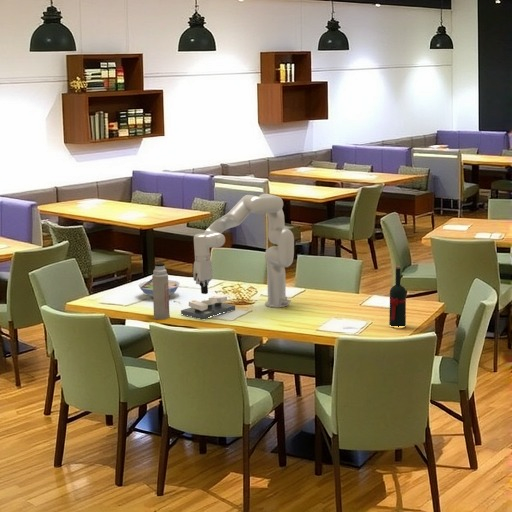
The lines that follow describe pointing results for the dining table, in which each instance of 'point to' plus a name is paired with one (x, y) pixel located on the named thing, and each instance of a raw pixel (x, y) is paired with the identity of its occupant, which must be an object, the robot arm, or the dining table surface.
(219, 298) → the rocker
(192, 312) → the console
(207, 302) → the rocker
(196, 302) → the rocker
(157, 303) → the thermos bottle
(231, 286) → the dining table surface
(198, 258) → the robot arm
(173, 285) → the ramen bowl
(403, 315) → the wine bottle
